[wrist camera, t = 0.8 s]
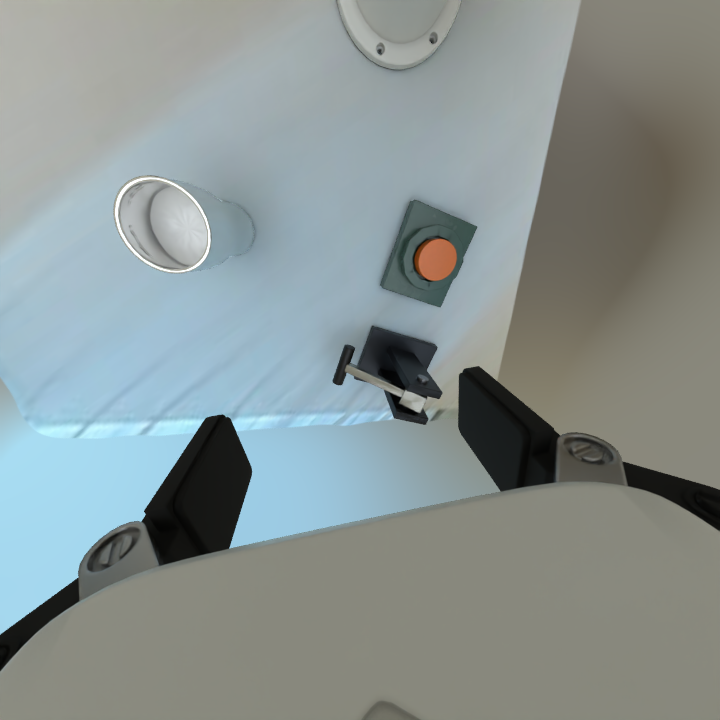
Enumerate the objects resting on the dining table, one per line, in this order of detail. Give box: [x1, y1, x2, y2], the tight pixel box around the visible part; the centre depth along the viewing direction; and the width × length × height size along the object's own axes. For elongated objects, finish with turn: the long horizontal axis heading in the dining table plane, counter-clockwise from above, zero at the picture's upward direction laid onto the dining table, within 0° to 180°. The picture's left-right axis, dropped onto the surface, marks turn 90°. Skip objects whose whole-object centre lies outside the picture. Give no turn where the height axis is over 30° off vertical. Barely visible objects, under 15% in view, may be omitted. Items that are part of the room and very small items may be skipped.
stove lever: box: [333, 345, 427, 413], centre depth 35 cm, size 12×6×2 cm, turn 71°
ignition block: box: [380, 200, 477, 307], centre depth 36 cm, size 11×9×4 cm
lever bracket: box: [354, 326, 442, 425], centre depth 38 cm, size 11×9×13 cm
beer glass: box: [114, 175, 254, 274], centre depth 27 cm, size 7×7×15 cm
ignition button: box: [414, 239, 457, 281], centre depth 33 cm, size 5×5×2 cm
